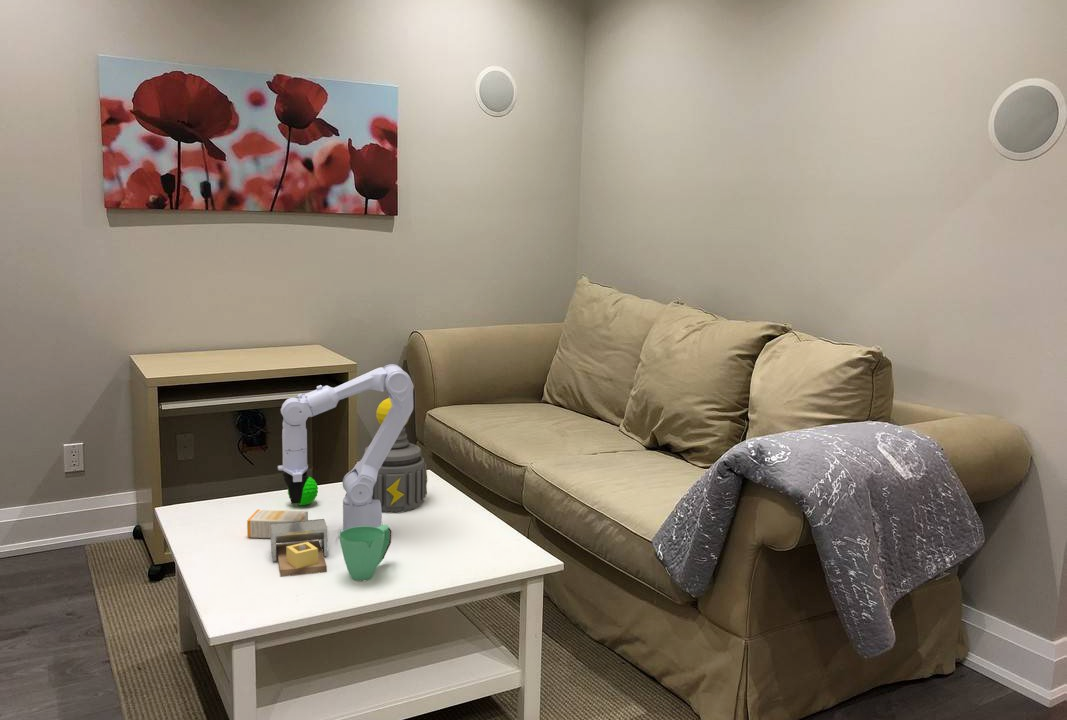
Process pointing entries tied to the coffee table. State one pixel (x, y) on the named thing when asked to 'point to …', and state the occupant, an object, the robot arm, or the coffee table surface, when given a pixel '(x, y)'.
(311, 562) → the hollow square block
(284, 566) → the pin board
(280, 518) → the supplement box
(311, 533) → the cover
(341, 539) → the mug
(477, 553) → the coffee table surface
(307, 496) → the ornament
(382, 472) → the decorative lamp
